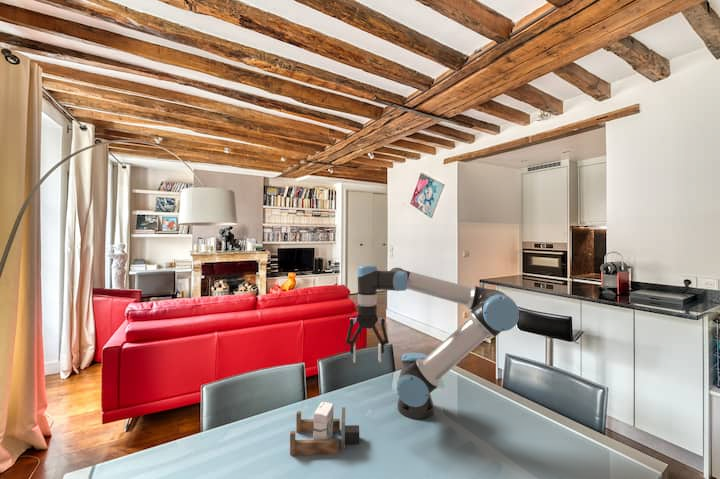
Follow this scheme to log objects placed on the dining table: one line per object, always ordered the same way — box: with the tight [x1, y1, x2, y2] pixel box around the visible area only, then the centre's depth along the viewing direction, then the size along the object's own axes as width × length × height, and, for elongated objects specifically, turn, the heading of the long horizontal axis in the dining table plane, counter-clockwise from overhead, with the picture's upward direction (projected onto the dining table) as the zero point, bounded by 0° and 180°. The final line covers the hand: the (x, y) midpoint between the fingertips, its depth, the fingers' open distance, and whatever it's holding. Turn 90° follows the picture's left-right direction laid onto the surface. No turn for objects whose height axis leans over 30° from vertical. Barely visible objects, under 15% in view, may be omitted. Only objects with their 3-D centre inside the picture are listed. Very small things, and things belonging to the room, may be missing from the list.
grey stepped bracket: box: [340, 406, 360, 450], centre depth 109 cm, size 6×10×9 cm, turn 2°
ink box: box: [312, 401, 335, 440], centre depth 108 cm, size 9×5×12 cm, turn 168°
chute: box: [289, 410, 341, 456], centre depth 108 cm, size 16×14×7 cm
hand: (367, 361), depth 121 cm, fingers open, 9 cm apart
